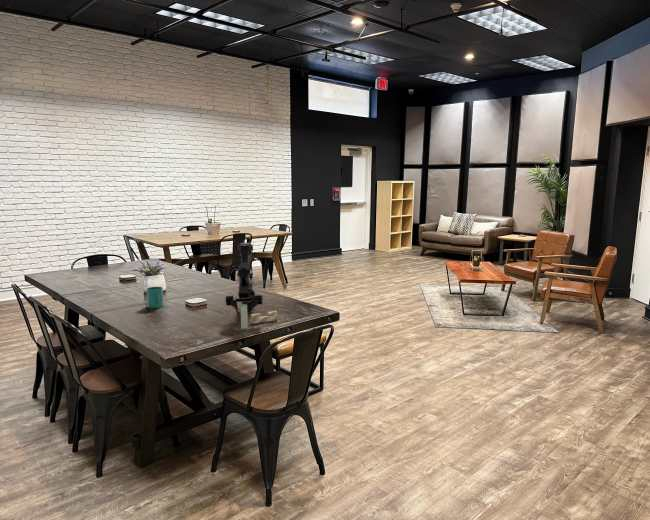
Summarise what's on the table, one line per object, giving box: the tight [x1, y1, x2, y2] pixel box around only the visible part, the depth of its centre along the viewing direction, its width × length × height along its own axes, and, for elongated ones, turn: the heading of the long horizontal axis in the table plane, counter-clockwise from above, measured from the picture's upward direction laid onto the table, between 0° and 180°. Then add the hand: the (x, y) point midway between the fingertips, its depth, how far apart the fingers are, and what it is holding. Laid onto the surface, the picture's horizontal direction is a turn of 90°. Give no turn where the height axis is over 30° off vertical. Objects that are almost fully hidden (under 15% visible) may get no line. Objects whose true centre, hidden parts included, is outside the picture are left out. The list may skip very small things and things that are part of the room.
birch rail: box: [250, 310, 278, 324], centre depth 255 cm, size 14×2×4 cm, turn 119°
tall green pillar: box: [240, 303, 249, 330], centre depth 245 cm, size 7×3×11 cm, turn 7°
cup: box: [146, 286, 165, 309], centre depth 284 cm, size 9×12×11 cm
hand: (244, 314), depth 244 cm, fingers open, 6 cm apart
